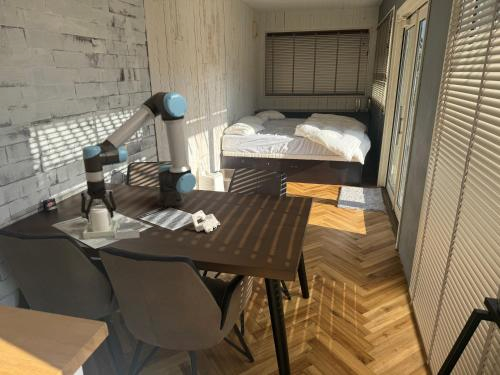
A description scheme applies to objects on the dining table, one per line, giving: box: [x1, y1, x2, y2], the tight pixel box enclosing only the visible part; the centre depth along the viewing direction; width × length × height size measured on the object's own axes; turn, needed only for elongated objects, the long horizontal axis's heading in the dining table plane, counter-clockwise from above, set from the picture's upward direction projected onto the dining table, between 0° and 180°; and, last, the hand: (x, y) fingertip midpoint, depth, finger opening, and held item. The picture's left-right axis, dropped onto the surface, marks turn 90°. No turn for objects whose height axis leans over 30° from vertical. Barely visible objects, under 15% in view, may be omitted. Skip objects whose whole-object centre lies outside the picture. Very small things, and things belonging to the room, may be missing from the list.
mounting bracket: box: [190, 209, 221, 234], centre depth 172 cm, size 12×6×11 cm, turn 153°
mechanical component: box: [85, 196, 105, 207], centre depth 185 cm, size 3×10×10 cm, turn 79°
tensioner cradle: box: [115, 221, 142, 240], centre depth 166 cm, size 10×12×3 cm
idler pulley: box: [80, 209, 91, 224], centre depth 174 cm, size 7×7×7 cm
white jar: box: [90, 204, 111, 232], centre depth 166 cm, size 8×8×12 cm
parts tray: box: [82, 219, 119, 240], centre depth 167 cm, size 14×14×3 cm
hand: (101, 224), depth 167 cm, fingers closed on white jar, 8 cm apart
